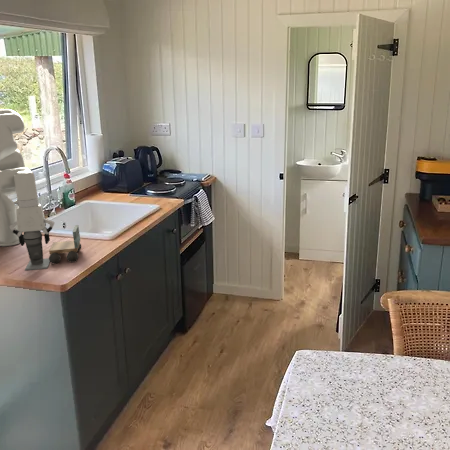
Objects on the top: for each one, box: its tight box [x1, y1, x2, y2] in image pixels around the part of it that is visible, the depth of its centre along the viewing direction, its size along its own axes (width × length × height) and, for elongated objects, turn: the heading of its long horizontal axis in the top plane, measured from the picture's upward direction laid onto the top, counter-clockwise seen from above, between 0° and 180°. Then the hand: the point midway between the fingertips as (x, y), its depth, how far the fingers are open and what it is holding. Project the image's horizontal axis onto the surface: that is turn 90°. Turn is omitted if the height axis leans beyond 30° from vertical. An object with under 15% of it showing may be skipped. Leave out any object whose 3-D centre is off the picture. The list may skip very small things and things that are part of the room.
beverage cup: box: [22, 231, 44, 265], centre depth 200 cm, size 7×7×20 cm
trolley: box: [48, 224, 82, 265], centre depth 208 cm, size 12×13×12 cm
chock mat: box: [24, 257, 51, 271], centre depth 203 cm, size 9×10×1 cm
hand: (35, 243), depth 201 cm, fingers open, 9 cm apart
